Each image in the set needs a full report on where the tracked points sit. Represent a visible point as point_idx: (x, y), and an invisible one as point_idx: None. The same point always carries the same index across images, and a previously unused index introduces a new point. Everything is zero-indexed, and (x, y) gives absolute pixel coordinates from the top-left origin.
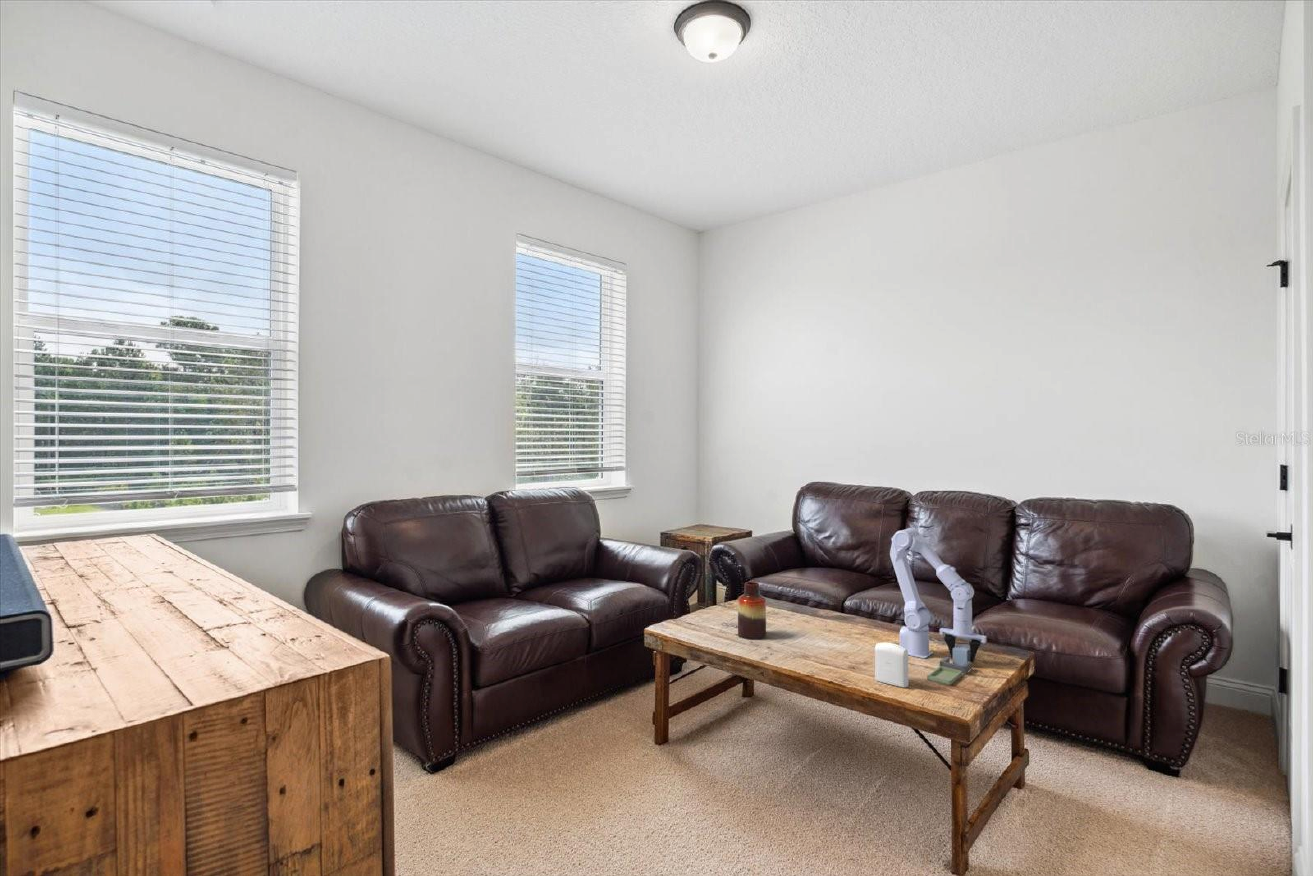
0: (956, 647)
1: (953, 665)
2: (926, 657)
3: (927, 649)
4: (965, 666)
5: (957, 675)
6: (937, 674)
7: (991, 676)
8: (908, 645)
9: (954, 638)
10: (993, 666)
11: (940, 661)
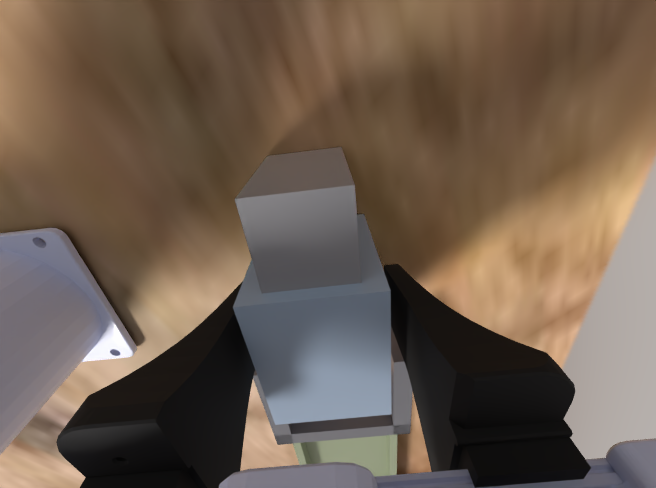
0: (282, 393)
1: (349, 434)
2: (130, 341)
3: (70, 344)
4: (407, 426)
5: (396, 461)
6: (319, 461)
7: (513, 337)
8: None
9: (198, 424)
10: (511, 168)
11: (279, 442)
